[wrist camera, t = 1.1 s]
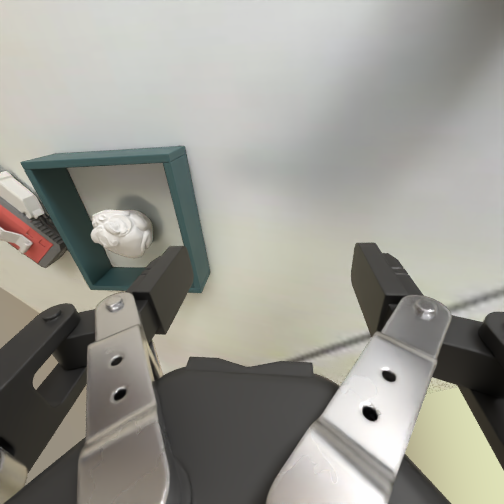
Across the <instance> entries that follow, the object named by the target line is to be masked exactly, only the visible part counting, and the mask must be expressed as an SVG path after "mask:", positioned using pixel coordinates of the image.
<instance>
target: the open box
mask: <svg viewBox="0 0 504 504" xmlns="http://www.w3.org/2000/svg"><path fill="white" fill-rule="evenodd" d="M185 153H186V151H185V146H175V147H159V148H142V149H126V150H110V151H93V152H77V153H61V154H52V155H48V156H43V157H39V158H35V159H31V160H27V161H23V162H21V165H22V167H23V168H24V170H25V172H26V174H27V176H28V178H29V180H30V181H31V183H32V185H33V187H34V189H35V190H36V192H37V194H38V196H39V198H40V199H41V201H42V203H43V205H44V207H45V208H46V210H47V212H48V214H49V216H50V217H51V219H52V221H53V223H54V225H55V226H56V228H57V230H58V232H59V234H60V236H61V237H62V239H63V241H64V243H65V245H66V246H67V248H68V250H69V252H70V254H71V255H72V257H73V259H74V261H75V263H76V264H77V266H78V268H79V270H80V272H81V273H82V275H83V277H84V279H85V281H86V283H87V284H88V286H89V288H90V289H91V290H116V291H126V290H127V289H128V288H129V287H130V286H131V285H132V283H133V282H134V281H135V280H136V279H137V278H138V276H139V275H141V273H142V272H143V271H144V270H145V268H119V267H112V266H111V264H110V262H109V259H108V257H107V255H106V253H105V251H104V249H103V246H102V245H101V244H99V243H95V242H94V241H93V240H92V238H91V232H92V230H93V229H94V227H93V225H92V223H91V221H90V218H89V216H88V214H87V212H86V210H85V208H84V205H83V203H82V201H81V199H80V197H79V195H78V192H77V190H76V188H75V186H74V184H73V182H72V179H71V177H70V175H69V173H68V171H67V169H66V168H69V167H89V166H108V165H127V164H147V163H163V165H164V169H165V173H166V177H167V181H168V185H169V189H170V193H171V197H172V200H173V204H174V208H175V212H176V216H177V220H178V224H179V228H180V232H181V236H182V240H183V243H184V246H185V247H186V248H187V250H188V254H189V258H190V261H191V265H192V269H193V275H194V278H193V283H192V285H191V287H190V289H189V291H188V293H202V291H203V288H204V286H205V284H206V282H207V279H208V277H209V275H210V269H209V264H208V259H207V254H206V249H205V244H204V239H203V234H202V229H201V224H200V220H199V215H198V210H197V205H196V200H195V195H194V190H193V185H192V180H191V175H190V171H189V166H188V161H187V156H186V154H185Z"/></svg>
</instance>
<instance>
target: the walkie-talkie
mask: <svg viewBox="0 0 504 504" xmlns="http://www.w3.org/2000/svg"><path fill="white" fill-rule="evenodd" d="M0 240H2V241H6V242H8V243H9V244H10V245H12V246H13V247H15V248H16V249H17V250H19V251H20V252H21V253H22V254H24V255H26V256H27V257H29V258H30V259H32V260H33V261H34V262H36V263H37V264H39V265H40V266H41V267H44V268H47V267H48V266H49V265H51V264H52V263H54V262H55V261H57V260H58V259H59V258H60V257H61V256H62V255H63V254H64V253H65V252H66V250H68V248H67V246H66V245H65V243H64V241H63V239H62V237H61V236H60V234H59V232H58V230H57V228H56V226H55V225H54V223H53V221H52V220H51V219H50V218H48V217H47V216H46V215H45V214H44V210H43V208H42V206H41V204H40V203H39V201H38V199H37V197H36V196H35V195H34V194H33V193H32V192H30V191H29V190H28V189H27V188H25V187H24V186H23V185H22V184H21V183H19V182H18V181H17V180H16V179H14V178H13V176H12V175H11V174H10V173H8V172H7V171H4V172H0ZM68 251H69V250H68Z"/></svg>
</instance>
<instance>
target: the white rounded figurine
mask: <svg viewBox="0 0 504 504" xmlns="http://www.w3.org/2000/svg"><path fill="white" fill-rule="evenodd" d="M92 225H93V227H94V229H93V230H92V232H91V238H92V240H93V241H94V242H95V243H99V244H101V245H103V246H104V247H105V248H106V249H108V250H110V251H112V252H114V253H116V254H119V255H122V256H125V257H129V258H139V257H142V256H143V254H144V251H145V249H148V248H149V246H150V245H151V243H152V242H153V226H152V223H151V221H150V219H149V218H148V217H147V216H146V215H145V214H143V213H141V212H139V211H136V210H109V209H107V210H103V211H101V212H98V213H96V214H94V215H93V216H92Z"/></svg>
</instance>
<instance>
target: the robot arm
mask: <svg viewBox="0 0 504 504" xmlns="http://www.w3.org/2000/svg"><path fill="white" fill-rule="evenodd" d="M193 278H194V275H193V269H192V265H191V261H190V258H189V254H188V250H187V248H186V247H185V246H170V247H168V249H167V250H166V251H165V252H164V253H163V255H162V256H159V257H158V258H156V259H155V260H153V261H152V262H150V264H149V265H148V266H147V267H146V268H145V270H144V271H143V272H142V273H141V275H139V276H138V278H137V279H136V280H135V281H134V282H133V283H132V285H131V286H130V287H129V288H128V289H127V290H126V292H121V293H116V294H113V295H111V296H109V297H107V298H105V299H104V300H102V301H101V302H100V303H99V304H98V305H97V306H96V308H95V309H94V310H89V311H84V312H80V313H78V312H77V310H76V309H75V307H74V306H73V305H72V304H67V303H66V304H59V305H56V306H53V307H51V308H49V309H47V310H45V311H43V312H42V313H40V314H39V315H38V316H36V317H35V318H34V319H33V320H32V321H31V322H30V323H29V324H28V325H26V326H25V327H24V329H22V330H21V331H20V332H19V333H18V334H17V335H15V336H14V337H13V338H12V339H11V340H10V341H9V342H8V343H7V344H5V345H4V346H3V347H2V348H1V349H0V504H451V503H450V502H449V501H448V500H447V499H446V497H445V496H444V495H443V494H442V493H441V492H440V491H439V490H438V489H437V488H436V487H435V486H434V485H433V484H432V482H431V481H430V480H429V479H428V478H427V477H426V476H425V475H424V474H423V473H422V472H421V470H420V469H419V468H418V467H417V466H416V465H415V464H414V463H413V462H412V461H411V460H410V459H409V458H408V456H407V455H406V454H405V450H406V448H407V445H408V442H409V439H410V437H411V433H412V431H413V428H414V425H415V423H416V420H417V417H418V414H419V411H420V409H421V406H422V403H423V401H424V398H425V395H426V392H427V389H428V387H429V384H430V381H431V378H432V377H434V378H437V379H440V380H443V381H446V382H450V383H453V384H456V385H457V386H458V387H459V389H460V391H461V393H462V394H463V396H464V398H465V400H466V402H467V404H468V405H469V408H470V409H471V411H472V413H473V415H474V417H475V419H476V420H477V422H478V424H479V426H480V428H481V430H482V431H483V433H484V435H485V437H486V439H487V441H488V442H489V444H490V446H491V448H492V450H493V451H494V453H495V455H496V457H497V459H498V461H499V463H500V464H501V466H502V468H503V470H504V312H493V313H490V314H488V315H487V316H486V318H485V320H484V321H483V322H479V321H475V320H470V319H466V318H461V317H457V316H453V315H451V312H450V311H449V309H448V308H447V307H446V306H445V305H443V304H442V303H440V302H439V301H437V300H435V299H432V298H430V297H427V296H424V295H423V294H422V293H421V291H420V290H419V288H418V287H417V286H416V284H415V283H414V282H413V280H412V279H411V277H410V276H409V275H408V273H407V272H406V270H405V269H403V266H402V265H401V264H400V262H399V261H398V260H397V259H396V258H394V257H393V256H391V255H390V254H388V253H381V251H380V249H379V248H378V246H377V245H376V243H356V245H355V248H354V255H353V262H352V270H351V282H352V286H353V288H354V291H355V294H356V297H357V299H358V302H359V305H360V307H361V310H362V313H363V316H364V318H365V321H366V324H367V326H368V329H369V332H370V335H371V337H372V338H371V339H370V341H369V342H368V344H367V346H366V347H365V349H364V350H363V352H362V353H361V355H360V356H359V358H358V359H357V361H356V362H355V364H354V366H353V367H352V369H351V370H350V372H349V373H348V375H347V376H346V378H345V379H344V381H343V383H342V384H341V386H339V385H337V384H336V383H334V382H333V381H331V380H329V379H327V378H325V377H323V376H320V375H318V374H314V373H313V365H312V363H307V362H286V361H279V362H274V363H268V364H263V365H258V366H252V367H245V366H242V365H239V364H235V363H232V362H229V361H226V360H223V359H219V358H206V357H190V358H189V360H188V363H187V365H186V367H183V368H180V369H176V370H174V371H172V372H169V373H167V374H165V375H164V376H163V373H162V369H161V366H160V362H159V359H158V355H157V352H156V348H155V345H154V342H153V340H152V338H153V337H154V335H155V334H165V335H166V333H167V331H168V329H169V327H170V325H171V324H172V322H173V320H174V318H175V316H176V314H177V312H178V310H179V308H180V306H181V304H182V303H183V301H184V299H185V297H186V295H187V293H188V291H189V289H190V287H191V285H192V283H193ZM51 354H52V355H53V356H54V357H55V358H56V360H57V361H58V362H59V363H58V364H57V365H56V367H55V368H54V369H53V370H52V372H51V373H50V374H49V375H48V376H47V378H46V379H45V380H44V381H43V382H42V384H41V385H40V386H39V387H38V389H37V390H35V389H34V387H33V383H32V382H33V377H34V374H35V373H36V372H37V370H38V369H39V368H40V367H41V366H42V365H43V364H44V362H45V361H46V360H47V359H48V358H49V357H50V356H51ZM86 384H87V395H86V396H87V397H86V437H85V438H84V439H82V440H81V441H80V442H79V443H78V444H76V445H75V446H74V447H73V448H71V449H70V450H69V451H68V452H66V453H65V454H64V455H63V456H61V457H60V458H59V459H58V460H56V461H55V462H54V463H53V464H52V465H50V466H49V467H48V468H47V469H45V470H44V471H43V472H42V473H40V474H39V475H38V476H37V477H36V478H34V479H33V480H32V481H31V482H30V483H28V484H27V485H26V486H25V483H26V479H27V474H28V473H29V471H30V470H31V468H32V467H33V465H34V463H35V462H36V460H37V459H38V457H39V456H40V454H41V453H42V451H43V450H44V448H45V447H46V445H47V443H48V442H49V441H50V439H51V437H52V436H53V434H54V433H55V431H56V430H57V428H58V427H59V425H60V424H61V422H62V421H63V419H64V417H65V416H66V415H67V413H68V412H69V410H70V409H71V407H72V406H73V404H74V402H75V401H76V399H77V398H78V396H79V395H80V393H81V392H82V390H83V388H84V387H85V386H86Z"/></svg>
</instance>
